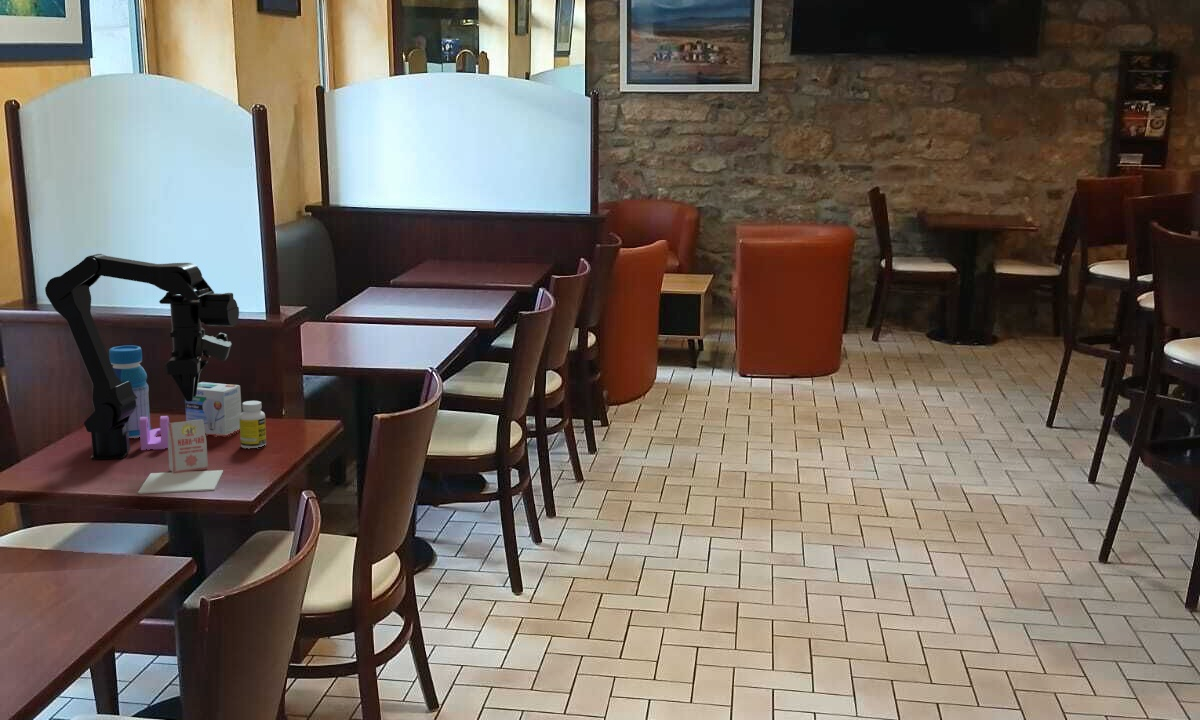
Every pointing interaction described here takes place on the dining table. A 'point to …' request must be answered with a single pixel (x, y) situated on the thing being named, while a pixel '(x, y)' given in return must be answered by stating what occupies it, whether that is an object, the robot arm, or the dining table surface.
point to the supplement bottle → (252, 425)
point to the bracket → (154, 434)
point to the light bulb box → (216, 407)
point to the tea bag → (187, 446)
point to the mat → (181, 481)
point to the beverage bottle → (132, 382)
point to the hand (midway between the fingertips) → (191, 398)
